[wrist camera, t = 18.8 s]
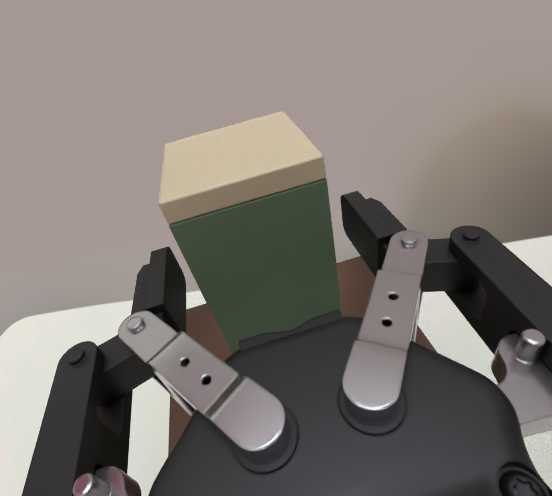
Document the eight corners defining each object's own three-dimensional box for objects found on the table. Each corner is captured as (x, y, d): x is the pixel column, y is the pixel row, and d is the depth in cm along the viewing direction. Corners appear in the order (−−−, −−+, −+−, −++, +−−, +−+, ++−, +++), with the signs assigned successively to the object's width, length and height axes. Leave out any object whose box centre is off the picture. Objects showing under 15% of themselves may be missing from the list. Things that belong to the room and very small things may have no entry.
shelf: (370, 342, 32) (365, 230, 24) (464, 516, 21) (518, 423, 13) (219, 391, 31) (159, 293, 23) (238, 596, 21) (140, 553, 12)
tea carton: (319, 313, 22) (283, 109, 14) (350, 382, 18) (324, 154, 10) (245, 337, 21) (164, 143, 13) (260, 412, 18) (157, 203, 10)
